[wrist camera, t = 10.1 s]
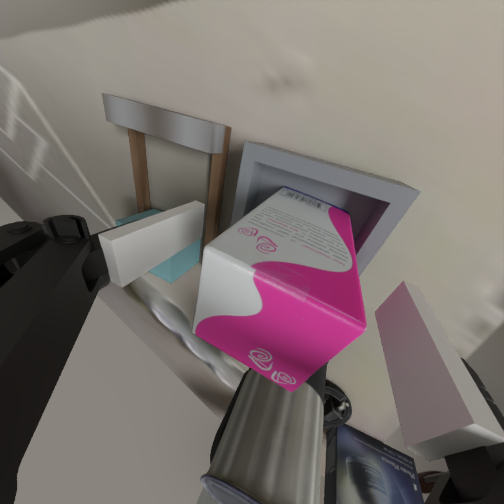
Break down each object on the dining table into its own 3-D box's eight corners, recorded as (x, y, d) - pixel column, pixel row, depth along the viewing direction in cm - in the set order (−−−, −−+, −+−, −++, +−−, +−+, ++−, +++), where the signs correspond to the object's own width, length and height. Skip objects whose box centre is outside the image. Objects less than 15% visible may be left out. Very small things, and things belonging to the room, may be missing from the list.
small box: (416, 456, 26) (455, 607, 17) (395, 469, 29) (418, 601, 21) (336, 417, 29) (335, 529, 20) (325, 433, 32) (320, 534, 24)
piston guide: (148, 238, 27) (129, 247, 24) (133, 100, 18) (101, 92, 16) (212, 269, 24) (198, 282, 22) (231, 127, 16) (211, 123, 13)
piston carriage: (157, 241, 26) (123, 258, 22) (154, 208, 23) (115, 220, 19) (198, 261, 24) (171, 283, 20) (201, 228, 22) (169, 246, 18)
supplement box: (262, 242, 19) (185, 333, 9) (284, 184, 15) (199, 235, 6) (316, 268, 18) (291, 400, 8) (352, 212, 14) (380, 327, 5)
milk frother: (276, 306, 23) (209, 474, 11) (402, 378, 21) (490, 692, 9) (244, 357, 31) (185, 486, 19) (332, 412, 29) (327, 601, 17)
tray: (238, 250, 21) (223, 265, 19) (261, 143, 15) (244, 141, 13) (332, 290, 19) (331, 315, 16) (402, 182, 13) (420, 191, 10)
